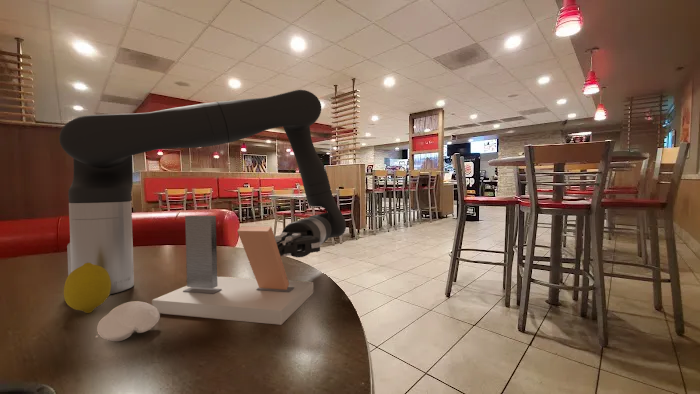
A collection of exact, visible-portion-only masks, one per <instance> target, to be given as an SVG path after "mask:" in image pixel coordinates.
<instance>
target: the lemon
mask: <svg viewBox="0 0 700 394" xmlns="http://www.w3.org/2000/svg"><path fill="white" fill-rule="evenodd" d="M110 290H111V279H110V276H109V274H108V272H107V271H106V270H105V269H104V268H103V267H101V266H98V265H94V264H91V263H85V264H84V265H83V266H81V267H79V268H77V269H75V270H74V271H73V272H71V273H70V274H69V276H67V277H66V279H65V282H64V286H63V297H64V301H65V303H66V304H67V306H69V307H70V308H71V309H73V310H76V311H81V312H84V313H85V314H91V313H93V312H94V310H95V309H96V308H98V307H100V306H101V305H103V304H104V303H105V302H106V301H107V300H108V298H109V296H110V295H111V294H110Z"/></svg>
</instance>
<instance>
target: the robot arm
mask: <svg viewBox="0 0 700 394" xmlns="http://www.w3.org/2000/svg"><path fill="white" fill-rule="evenodd" d="M321 112H322V103H321V101H320V99H319V98H318V96H317V95H316V94H314V93H313V92H311V91H309V90H306V89H297V90H291V91H288V92H283V93H279V94H275V95H271V96H266V97H259V98H243V99H232V100H221V101H212V102H205V103H203V102H202V103H197V104H192V105H185V106H184V105H183V106H178V107H172V108H167V109H166V108H165V109H161V110H155V111H150V112H149V111H148V112H137V113H115V114H114V113H113V114H111V113H109V114H87V115H82V116H81V115H80V116H77V117H76V118H73V119H71V120H70V121H68V122H66V123H65V124H64V126H63V127H62V128H61V130H60V133H59V137H58V140H59V141H58V142H59V144H60V147H61V148H62V149H63V151H64V152H65V153H66V154H67V155H68V156H70V157H71V158H72V159H73V177H72V182H71V185H70V187H69V188H68V192H67V193H68V219H69V243H67V246H66V248H67V250H66V251H67V252H66V253H67V275H68V276H69V274H70V273H71V272H73V271H74V270H75V269H77V268H79V267H81V266H83V265H84V264H85V263H91V264H94V265H98V266H101V267H103V268H104V269H105V270H106V271H107V272H108V274H109V276H110V279H111V290H110V294H109V295H112V294H116V293H120V292H124V291H127V290H129V289H131V288H133V287H134V286H135V285H134V284H135V274H134V245H133V244H134V243H133V241H134V240H133V238H134V236H133V215H132V214H133V212H132V208H133V207H132V189H133V186H134V185H133V184H134V183H133V182H134V181H133V173H134V172H133V168H134V167H133V156H135V155H138V154H143V153H147V152H152V151H157V150H163V149H192V148H193V149H195V148H196V149H198V148H206V147H208V148H209V147H215V146H219V145H225V144H229V143H234V142H237V141H240V140H243V139H248V138H249V137H252V136H255V135H258V134H260V133H263V132H265V131H268V130H272V129H277V128H283V130H284V132H285V134H286V137H287V139H288V142H289V144H290V147H291V149H292V152H293V155H294V158H295V161H296V165H297V166H298V171H299V174H300V178H301V181H302V185H303V190H304V193H305V196H306V201H307V204H308V206H310V207H318V208H319V207H320V208H322V209H325V210H326V212H324V213H323V212H322V213H318V214H313V215H310V216H309V217H305V218H301V219H299V220H295V221H292V222H289V223H288V224H287V225H286V226H285V227H284V228H283V230H282V232H281V233H280V234H279V235H274V237H275V240H276V244H277V247H278V250H279V253H280V256H281V258H285V257H287V256H292V257H293V258H304V257H307V256H308V255H310V254H312V253H318V252H320V251H321V246H322V245H323V244H324V243H326V241H328V239H331V238H337V237H340V236H343V235H344V234H345V232H346V229H347V223H346V219H345V217H344V214H343V213H342V212H341V209H340V208H339V205H338V204H337V202H336V201H335V198H334V195H333V193H332V189H331V184H330V181H329V175H328V173H327V170H326V167H325V165H324V164H323V162H322V160H321V158H320V157H319V154H318V153H317V151H316V148H315V146H314V143H313V140H312V134H311V126H312V125H314V124H315V123H316V122H317V121H318V119H319V117H320V116H321ZM68 276H67V277H68Z"/></svg>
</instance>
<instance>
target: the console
mask: <svg viewBox="0 0 700 394" xmlns="http://www.w3.org/2000/svg"><path fill="white" fill-rule="evenodd" d="M288 282H289V286H288V288H287V290H284V289H269V288H259V286H258V283H257V281H256V278H251V277H248V278H247V277H235V276H233V277H230V276H218V275H217V287H215V288H199V287H187V285H185V286H181V287H180V288H177V289H175V290H173V291H170V292H168V293H165V294H163V295H161V296H159V297H155V298H153V299H152V300H151V305H152V306H154V307H155V308H156V309H157V310H158V312H159V314H161V315H162V314H163V315H174V316H185V317H195V318H205V319H215V320H226V321H227V320H228V321H239V322H248V323H249V322H250V323H260V324H268V325H269V324H270V325H271V324H272V325H278V326H281V325H283V324H284V323H285V322H286V320H288V319H289V318H290V317H291V316H292V315H293V314H294V313H295V312H296V311H297V310H298V309H299V308H300V307H301V306H302V305H303V304H304V303H305V302H306V301H307V300H308V299H309V298H310V296H312V295H313V294H314V282H313V281H304V280H302V281H301V280H288Z"/></svg>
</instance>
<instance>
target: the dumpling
mask: <svg viewBox="0 0 700 394" xmlns="http://www.w3.org/2000/svg"><path fill="white" fill-rule="evenodd" d="M160 318H161V313H159V312H158V310H157V309H156V308H155V307H154V306H152V304H151V303H149V302H148V303H147V302H144V301H138V300H136V301H133V300H132V301H128V302H123V303H121V304H119V305H117V306H116V307H114V308H112V309H111V310H110V311H109V312H108V313H107V314H105V315H104V316H103V317H102V318H101V319H100V320H99V321H98V323H97V327H96V331H97V333H98V335H99V336H98V335H96V336H95V339H96V338H98V337H101V338H102V339H104V340H107V341H111V342H112V341H113V342H123V341H124V340H127V339H128V338H130V337H131V336H132V334H134V333H135V332H136V333H137V334H142V333H146V332H148V331H149V330H151V329H153V328H154V326H155V325H157V323H158V322H159V321H160Z"/></svg>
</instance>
